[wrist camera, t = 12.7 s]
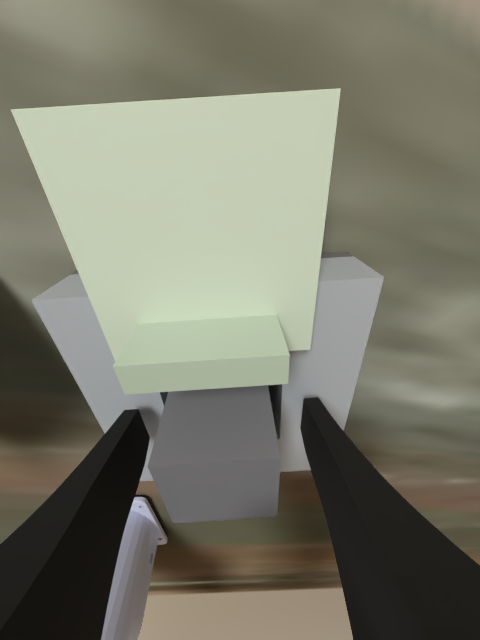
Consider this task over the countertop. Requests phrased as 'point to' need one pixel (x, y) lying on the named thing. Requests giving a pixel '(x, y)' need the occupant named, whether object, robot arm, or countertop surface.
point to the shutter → (193, 228)
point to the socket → (286, 399)
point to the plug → (217, 455)
